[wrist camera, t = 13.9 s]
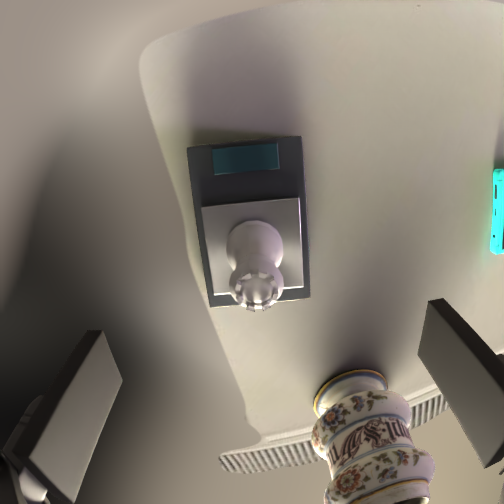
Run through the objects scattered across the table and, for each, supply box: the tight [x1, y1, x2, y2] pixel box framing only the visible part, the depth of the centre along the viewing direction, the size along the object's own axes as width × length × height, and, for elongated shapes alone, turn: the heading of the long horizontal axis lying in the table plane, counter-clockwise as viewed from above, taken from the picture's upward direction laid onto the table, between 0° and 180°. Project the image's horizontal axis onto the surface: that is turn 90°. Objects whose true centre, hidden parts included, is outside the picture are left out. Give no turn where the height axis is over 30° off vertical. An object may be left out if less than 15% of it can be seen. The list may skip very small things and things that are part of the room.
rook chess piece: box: [226, 220, 284, 312], centre depth 22 cm, size 4×4×8 cm
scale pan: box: [201, 196, 304, 295], centre depth 26 cm, size 8×8×1 cm
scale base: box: [187, 136, 310, 308], centre depth 28 cm, size 14×9×3 cm, turn 6°
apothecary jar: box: [312, 369, 435, 504], centre depth 29 cm, size 12×12×18 cm
